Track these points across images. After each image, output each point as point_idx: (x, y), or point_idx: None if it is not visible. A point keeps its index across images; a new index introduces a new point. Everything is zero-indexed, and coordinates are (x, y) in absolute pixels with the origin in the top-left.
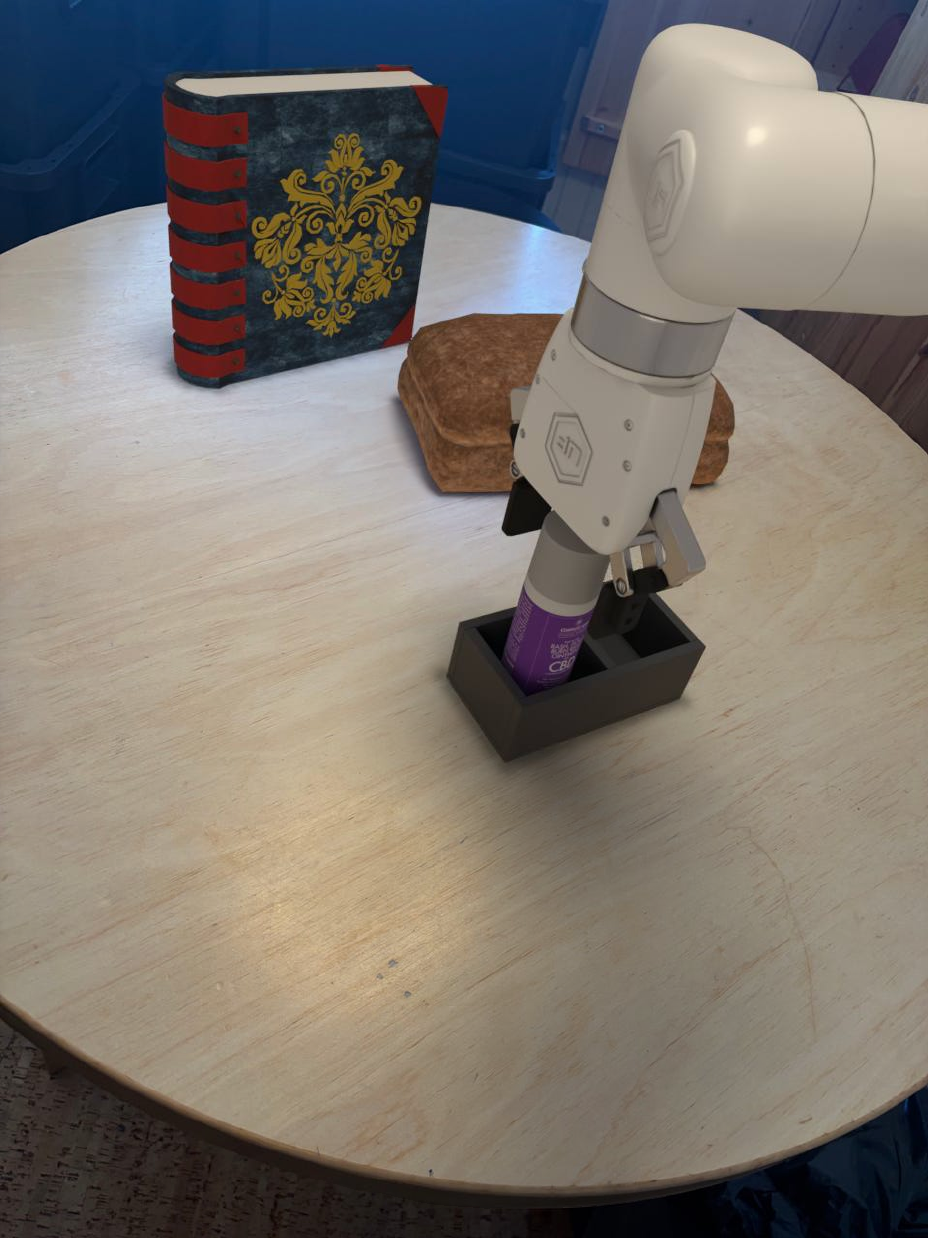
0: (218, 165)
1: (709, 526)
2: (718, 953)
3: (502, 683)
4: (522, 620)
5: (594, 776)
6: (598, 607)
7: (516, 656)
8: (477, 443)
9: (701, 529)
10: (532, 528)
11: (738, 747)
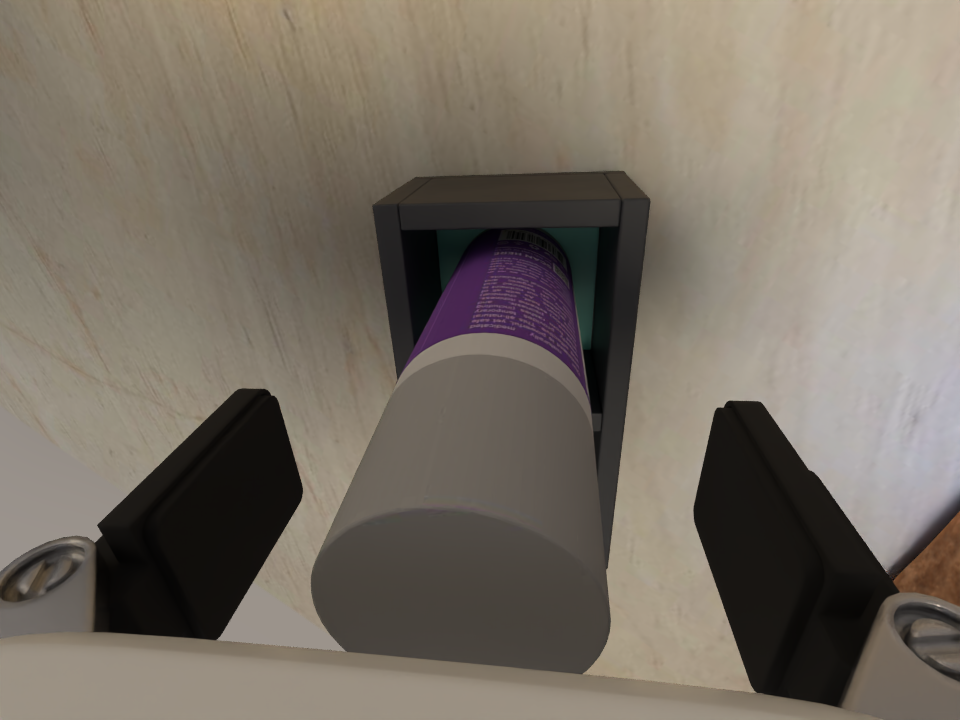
0: None
1: (694, 672)
2: (91, 289)
3: (450, 202)
4: (497, 298)
5: (357, 298)
6: (191, 454)
7: (491, 263)
8: None
9: (694, 663)
10: (704, 484)
11: None
